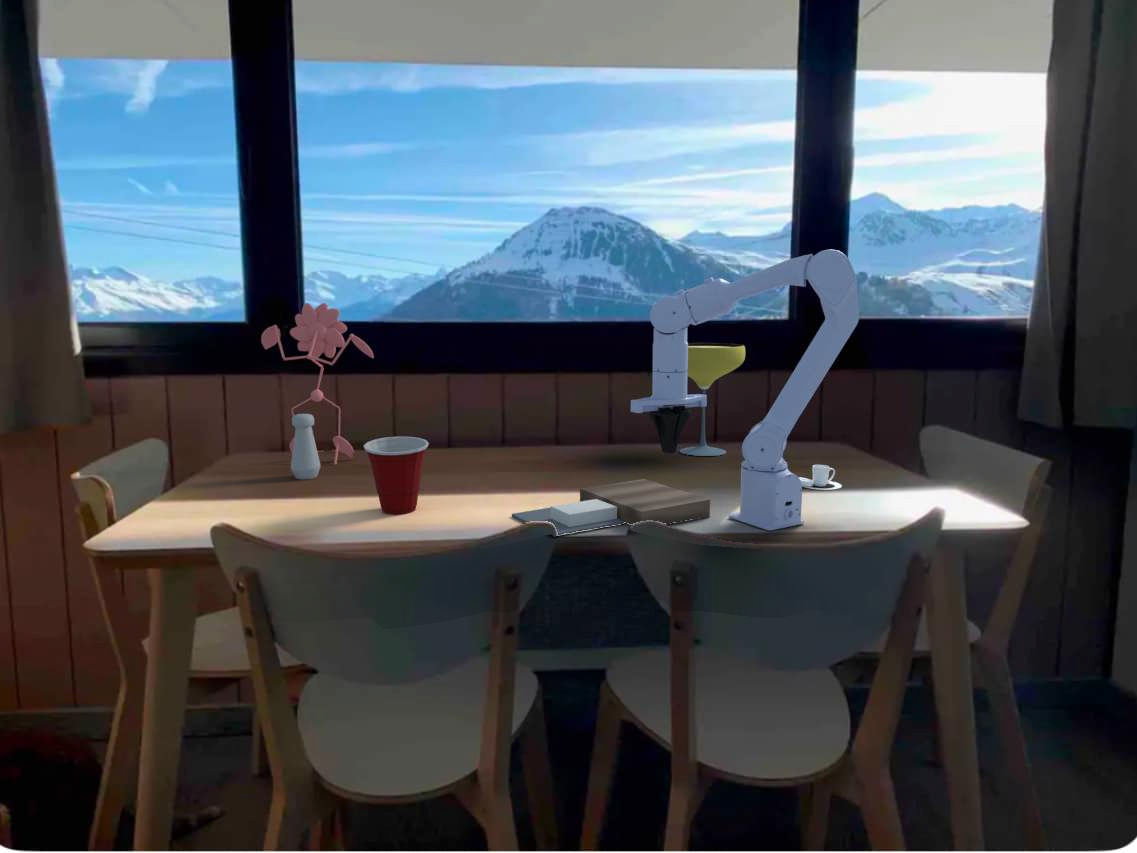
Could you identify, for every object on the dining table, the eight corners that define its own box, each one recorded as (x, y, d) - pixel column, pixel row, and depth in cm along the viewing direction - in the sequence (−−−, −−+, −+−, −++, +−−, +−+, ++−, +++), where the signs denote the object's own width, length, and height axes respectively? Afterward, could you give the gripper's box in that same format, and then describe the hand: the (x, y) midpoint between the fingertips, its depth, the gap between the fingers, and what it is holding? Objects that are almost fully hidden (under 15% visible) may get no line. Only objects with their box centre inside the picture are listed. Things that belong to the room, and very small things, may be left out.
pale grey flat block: (596, 510, 136) (596, 498, 135) (617, 518, 131) (617, 506, 130) (550, 518, 131) (550, 506, 131) (569, 527, 126) (569, 514, 126)
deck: (709, 517, 133) (710, 499, 133) (641, 530, 126) (642, 511, 125) (644, 494, 148) (644, 478, 148) (580, 505, 141) (579, 488, 141)
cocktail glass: (648, 453, 187) (649, 345, 183) (690, 442, 201) (692, 342, 197) (716, 463, 175) (719, 348, 171) (756, 451, 189) (760, 344, 185)
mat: (624, 524, 129) (624, 521, 129) (554, 537, 122) (554, 534, 122) (577, 505, 141) (577, 503, 141) (511, 516, 134) (511, 513, 134)
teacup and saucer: (792, 489, 153) (793, 468, 153) (796, 480, 161) (796, 460, 160) (841, 493, 150) (842, 472, 150) (842, 484, 158) (843, 463, 157)
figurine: (371, 466, 174) (363, 303, 169) (257, 464, 177) (246, 303, 171) (393, 452, 189) (387, 302, 184) (288, 451, 192) (278, 303, 186)
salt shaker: (286, 477, 164) (282, 414, 162) (311, 473, 168) (308, 411, 166) (300, 481, 160) (296, 417, 158) (326, 477, 164) (323, 414, 162)
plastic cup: (364, 520, 132) (360, 448, 130) (368, 504, 143) (365, 437, 141) (430, 517, 134) (428, 446, 132) (430, 501, 144) (428, 435, 143)
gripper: (688, 367, 139) (686, 444, 142) (619, 371, 132) (619, 452, 134) (715, 370, 133) (713, 450, 136) (646, 374, 126) (645, 459, 128)
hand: (668, 452), depth 134 cm, fingers closed
